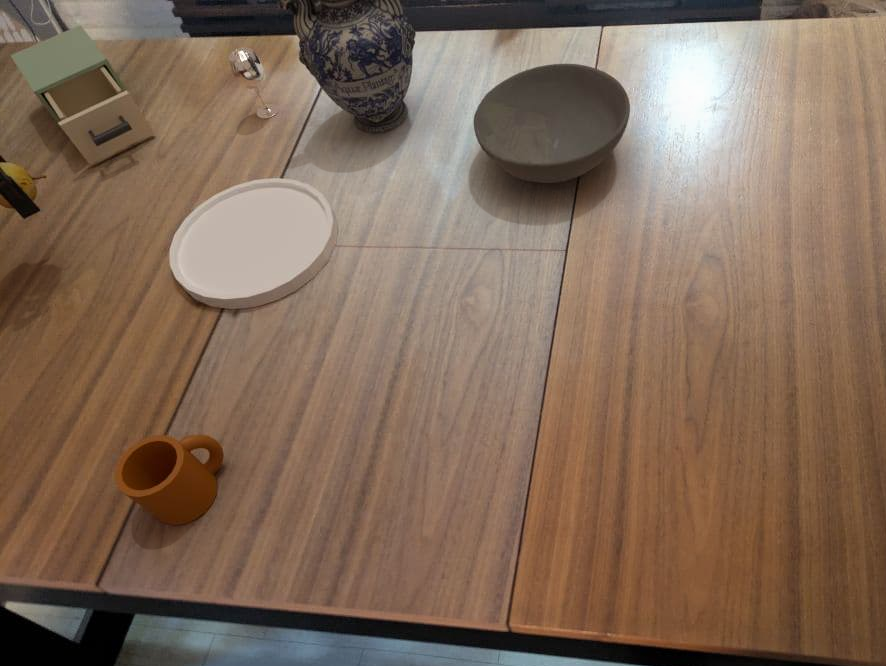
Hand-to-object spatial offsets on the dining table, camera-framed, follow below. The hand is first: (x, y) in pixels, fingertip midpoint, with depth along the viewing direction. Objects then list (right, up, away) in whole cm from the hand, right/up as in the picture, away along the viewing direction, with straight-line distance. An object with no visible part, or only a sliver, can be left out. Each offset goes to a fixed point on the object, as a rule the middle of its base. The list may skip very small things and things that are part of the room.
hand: (24, 200), depth 114 cm
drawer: (-2, +21, +26) cm, 33 cm away
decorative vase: (+52, +23, +23) cm, 62 cm away
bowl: (+86, +11, +13) cm, 87 cm away
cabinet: (-11, +30, +34) cm, 47 cm away
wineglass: (+29, +26, +28) cm, 47 cm away
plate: (+35, -6, +8) cm, 36 cm away
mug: (+36, -45, -17) cm, 60 cm away
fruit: (0, 0, 0) cm, 1 cm away
